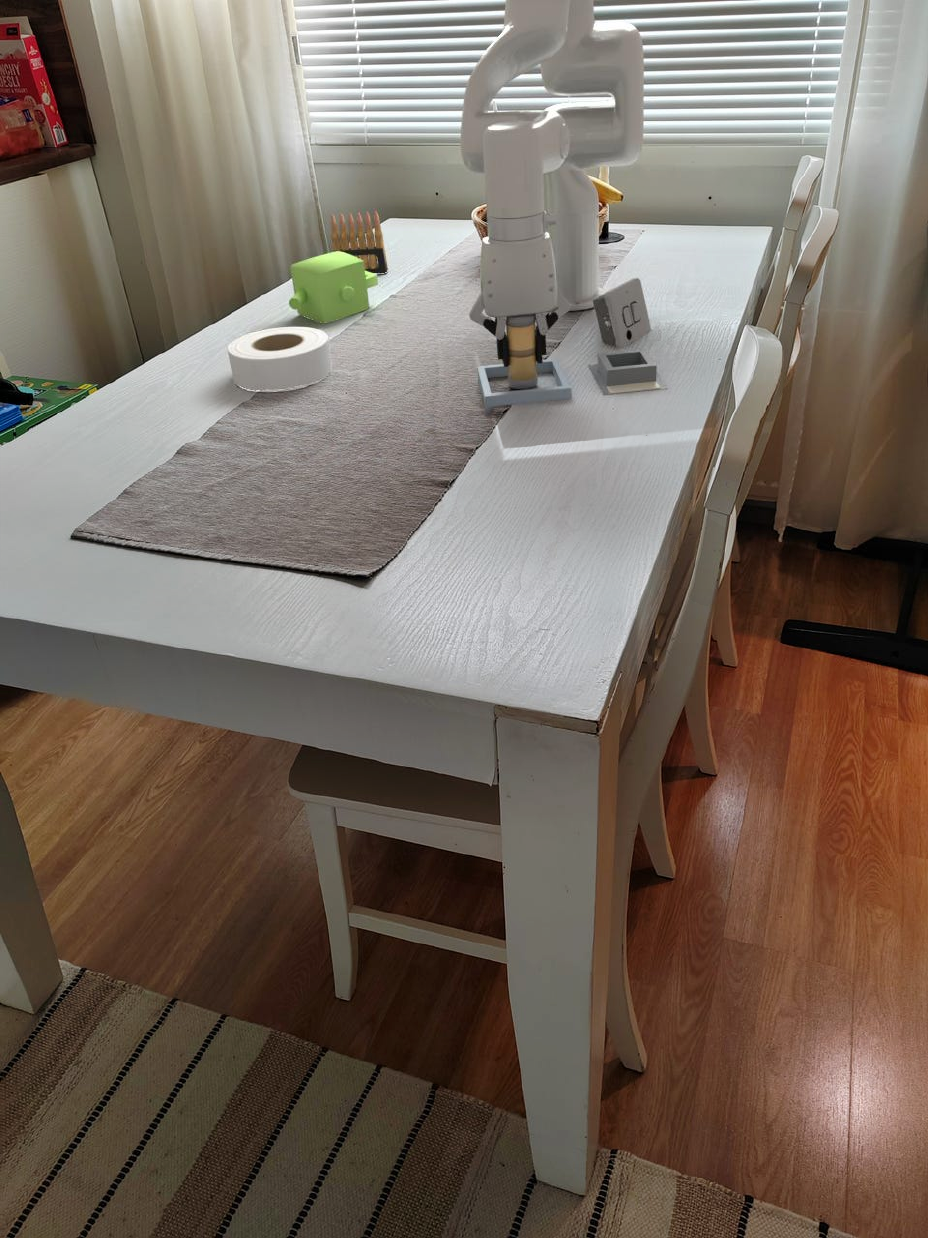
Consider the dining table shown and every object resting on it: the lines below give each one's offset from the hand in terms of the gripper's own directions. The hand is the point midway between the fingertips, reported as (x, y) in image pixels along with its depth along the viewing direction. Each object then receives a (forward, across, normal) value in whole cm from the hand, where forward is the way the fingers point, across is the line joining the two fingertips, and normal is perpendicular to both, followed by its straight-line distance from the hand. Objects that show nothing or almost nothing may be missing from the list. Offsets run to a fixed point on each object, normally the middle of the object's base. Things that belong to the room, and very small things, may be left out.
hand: (522, 360), depth 139 cm
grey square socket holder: (+5, -15, 0) cm, 16 cm away
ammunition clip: (+5, +24, -73) cm, 77 cm away
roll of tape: (+5, +36, -18) cm, 41 cm away
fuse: (+3, 0, 0) cm, 3 cm away
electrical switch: (+5, -18, -17) cm, 25 cm away
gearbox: (+5, +29, -47) cm, 56 cm away
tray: (+5, 0, 0) cm, 5 cm away
